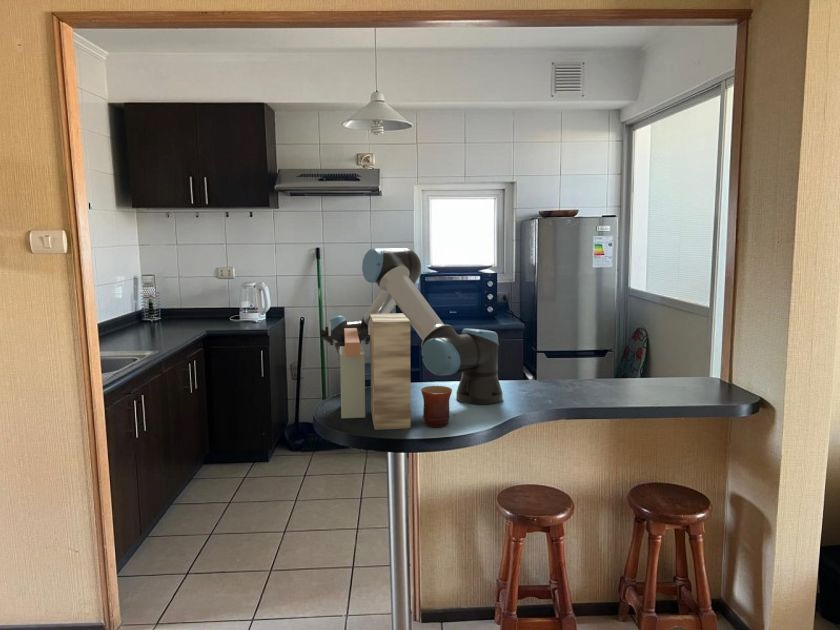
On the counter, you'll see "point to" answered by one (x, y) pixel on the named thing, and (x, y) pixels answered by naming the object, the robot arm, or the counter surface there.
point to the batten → (352, 342)
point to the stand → (390, 371)
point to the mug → (436, 406)
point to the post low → (352, 384)
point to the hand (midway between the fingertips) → (349, 324)
